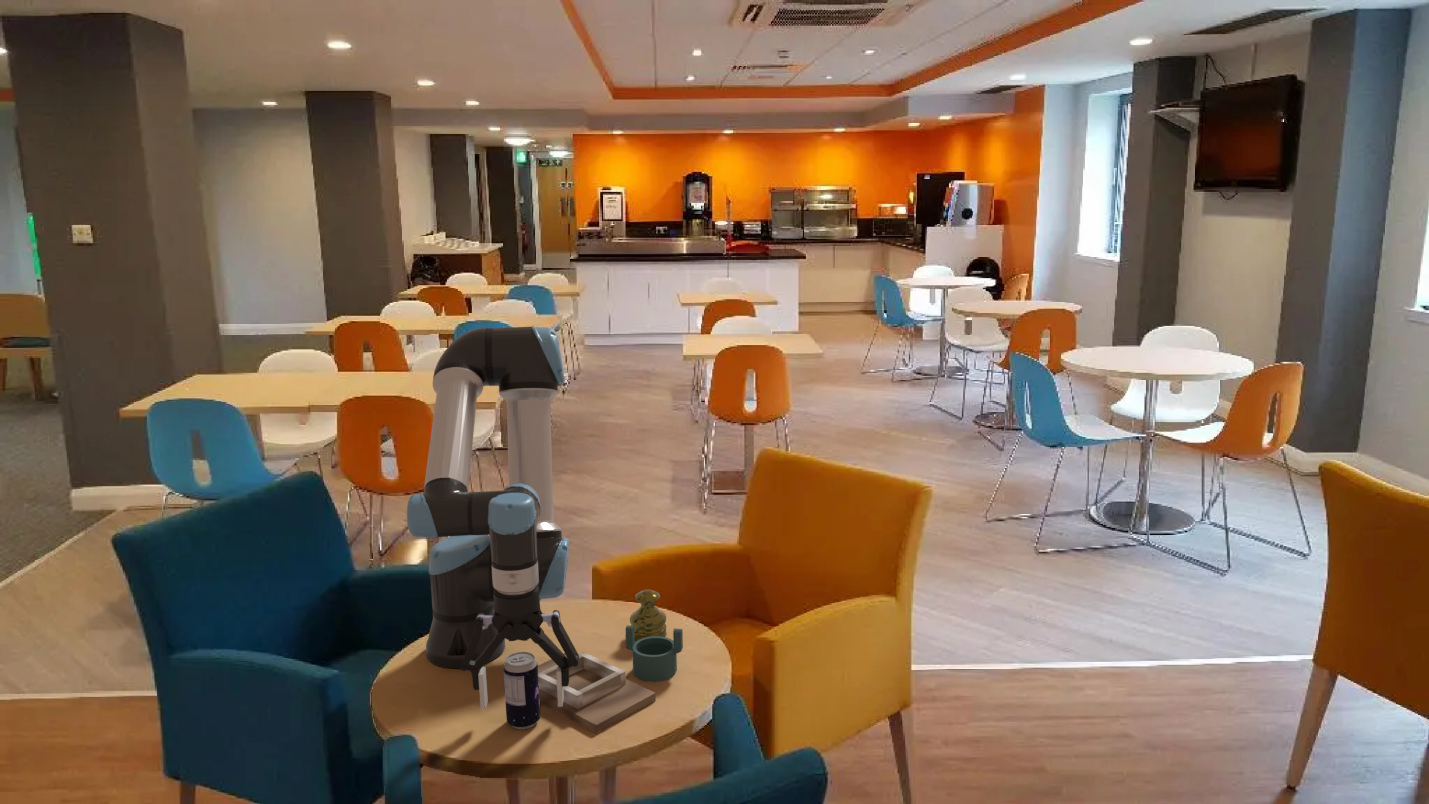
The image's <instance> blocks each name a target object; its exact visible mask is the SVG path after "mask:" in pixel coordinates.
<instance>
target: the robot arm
mask: <svg viewBox="0 0 1429 804" xmlns="http://www.w3.org/2000/svg"><path fill="white" fill-rule="evenodd" d="M433 371H434V372H433V378H432V388H433V390H434V392H435V395H436V396H435V403H434V409H433V410H434V412H433V418H432V426H431V433H430V439H429V440H430V441H429V448H428V456H427V463H426V468H425V469H426V471H425V478H424V479H425V480H424V485H423V492H421V493H420V492H419V493H415V494H412V495H411V496H410V497H409V499H408V501H407V505H406V521H407V522H406V523H407V528H408V531H409V534H411V536H413V537H415V538H431V539H432V538H433V539H438V538H444V537H445V538H444V539H441V540H440V541H439V542H437V543H435V544H434V546H432V548H431V549H430V550H429V555H428V557H429V559H428V562H429V563H428V564H429V567H428V574H429V581H430V591H431V593H430V595H431V606H432V607H431V608H432V622H431V625H430V628H429V632H428V638H427V639H426V640H427V641H426V645H425V649H426V651H425V652H426V659H427V660H428V661H429V662H430V663H431V664H432V665H435V666H438V667H443V668H447V669H460V670H461V671H463V672H465V671H468V672H470V673H471V677H472V689H473V690H474V691H479V704H480V706H479V708H480V711H485V710H486V708H487V705H488V699H489V698H488V697H489V696H488V684H487V683H488V681H487V669H486V668H487V667H486V666H485V664H486V663H489V662H492V661H493V660H495V659H497V658H498V657H499V656H501V655H502V654H503V653H504V652H505V649H506V640H507V641H508V642H515V641H523V642H524V641H525V642H527V641H528V640H531V641H532V642H533V643H534V644H536V645H538V646H539V647H540V648H541V649H542V651H543V652H544V653H545V654H547V655H546V656H548V657H549V658H550V660H551V659H552V660H553V661H554V662H555V663H556V664H557V665H558V666H557V671H556V676H557V697H558V707H562V706H563V701H564V691H563V687H564V686H568V684H569V668H570V667H572V666H573V667H576V666H577V665H578V661H579V653H578V651H577V649H576V648H575V645H574V644H573V642H572V639H571V638H570V636H569V634H568V633H567V631H566V629H565V627H564V625H563V623H562V621H561V614H560V611H559V610H557V609H554V610H553V611H552V612H549V613H543V612H542V609H541V601H542V600H547V599H554V598H555V599H557V598H559V597H560V596H561V595H562V594H563V593H564V590H565V586H566V582H567V581H566V580H567V573H568V572H567V571H568V564H569V563H568V561H569V553H570V552H569V550H570V549H569V547H570V539H569V538H568V537H566V536H564V537H562V536H563V535H562V528H561V527H560V526H559V525H558V524H557V523H556V522H555V521H554V490H553V489H554V487H553V485H554V483H553V456H552V455H553V451H552V449H553V448H552V445H553V444H552V418H551V417H552V414H551V413H552V411H551V410H552V409H551V408H552V407H551V402H552V400H553V399H554V398H555V397H556V396H557V395H558V392H559V391H558V390H559V389H558V388H559V387H558V385H563V384H565V383H566V382H565V381H566V379H565V373H564V372H565V371H564V367H563V361H562V353H561V349H560V343H559V338H558V334H557V332H556V331H555V329H554V328H551V327H545V326H544V327H543V326H542V327H541V326H534V325H532V326H517V327H491V328H489V327H481V328H475V329H471V330H469V331H467V332H466V333H463V334H461V335H460V336H459V337H457V338H456V339H455V340H453V342H452V343H450V345H448V347H447V348H446V349H445V350H444V351H443V353H442V355H441V356H440V357H439V359H438V361H437V363H436V366H435V368H434V370H433ZM487 386H489V387H498V395H499V396H500V397H501V398H502V399H503V400H504V401H505V402H506V416H507V418H506V419H507V420H506V421H507V423H506V424H507V460H508V461H507V467H508V470H507V471H508V472H507V473H508V486H506V487H505V488H504V489H503V490H489V491H488V490H486V491H484V490H483V491H469V484H470V477H471V475H470V474H471V463H472V453H473V444H474V442H473V441H474V432H475V424H476V423H475V422H476V413H477V412H476V410H477V401H478V400H477V399H478V398H479V397H480V396H481V395H482V393H483V390H484V387H487ZM543 622H544V623H546V624H547V627H550V628H551V629H552V633H553V634H554V635H555V638H556V639H557V641H558V643H559V645H560V646H561V649H562V650H563V652H564V653H565V654H566V656H567V657H566V656H565V655H564V653H563V652H562V651H561V649H560V648H559V647H558V646H557V645H556V644H555V643H554V642H553V640H552V639H550V637H548V635H547V634H546V633H545V631H544V630H543V628H542V627H541V626H542V624H543Z"/></svg>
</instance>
